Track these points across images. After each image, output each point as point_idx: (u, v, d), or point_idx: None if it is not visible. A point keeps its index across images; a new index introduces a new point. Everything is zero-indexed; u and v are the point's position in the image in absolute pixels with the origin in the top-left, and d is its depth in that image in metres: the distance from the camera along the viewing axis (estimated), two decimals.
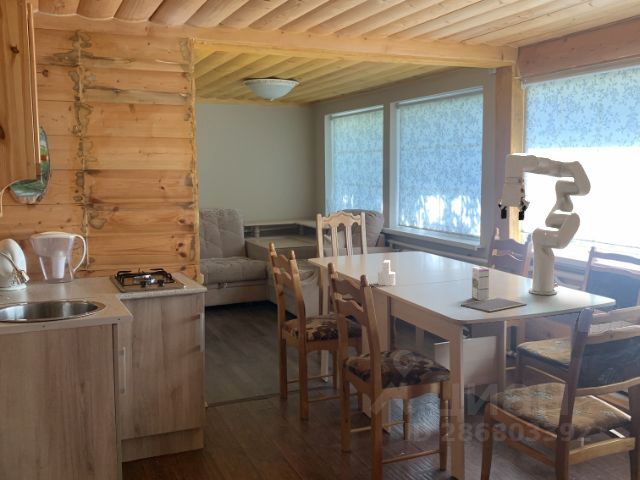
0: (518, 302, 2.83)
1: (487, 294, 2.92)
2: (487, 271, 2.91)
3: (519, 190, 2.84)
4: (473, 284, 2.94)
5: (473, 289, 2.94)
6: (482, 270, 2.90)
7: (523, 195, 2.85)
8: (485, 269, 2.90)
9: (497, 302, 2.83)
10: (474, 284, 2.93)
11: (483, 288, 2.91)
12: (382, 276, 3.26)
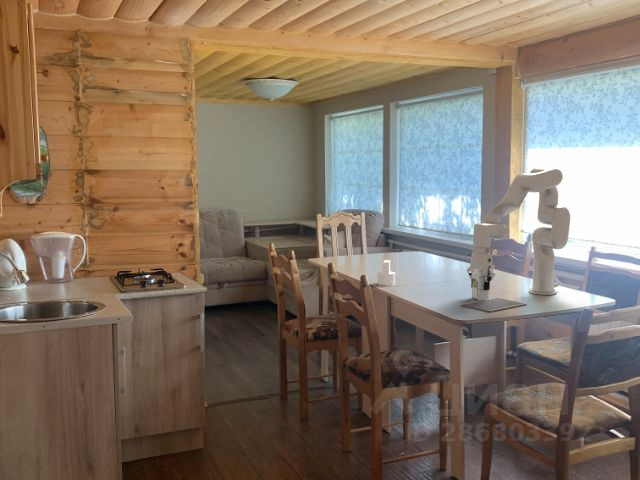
0: (518, 302, 2.83)
1: (487, 294, 2.92)
2: None
3: (486, 260, 2.88)
4: (473, 284, 2.94)
5: (473, 289, 2.94)
6: None
7: (490, 264, 2.89)
8: None
9: (497, 302, 2.83)
10: (474, 284, 2.93)
11: (483, 288, 2.91)
12: (382, 276, 3.26)
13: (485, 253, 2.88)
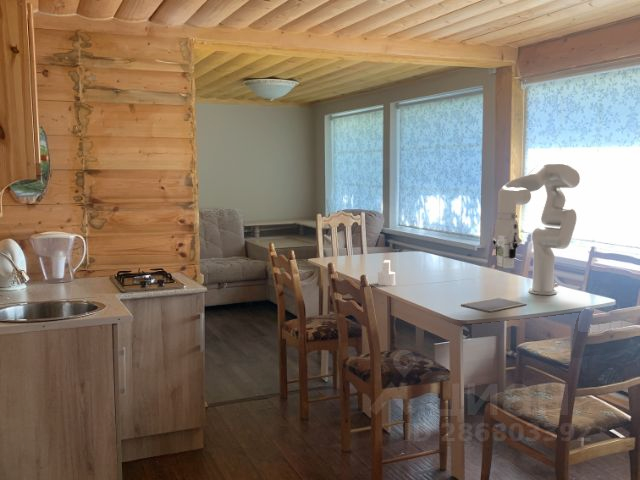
0: (518, 302, 2.83)
1: (513, 262, 2.82)
2: None
3: (512, 226, 2.77)
4: (498, 252, 2.84)
5: (498, 257, 2.84)
6: None
7: (516, 231, 2.78)
8: None
9: (497, 302, 2.83)
10: (499, 252, 2.82)
11: (508, 256, 2.80)
12: (382, 276, 3.26)
13: (511, 219, 2.78)
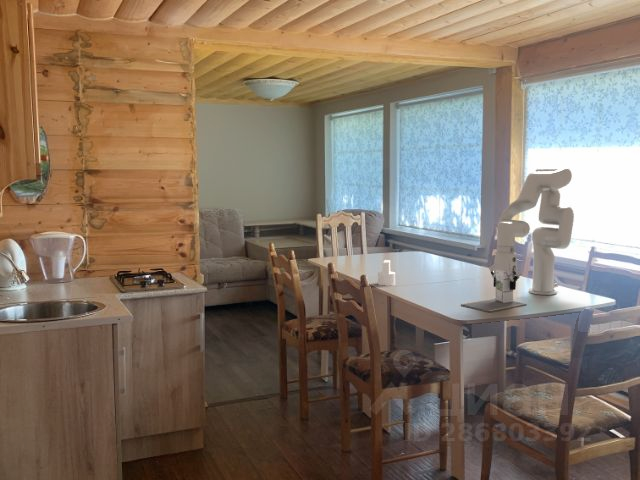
0: (518, 302, 2.83)
1: (512, 296, 2.84)
2: None
3: (511, 259, 2.79)
4: (497, 286, 2.85)
5: (497, 291, 2.86)
6: None
7: (515, 264, 2.80)
8: None
9: (497, 302, 2.83)
10: (498, 287, 2.84)
11: (508, 290, 2.82)
12: (382, 276, 3.26)
13: (510, 252, 2.79)
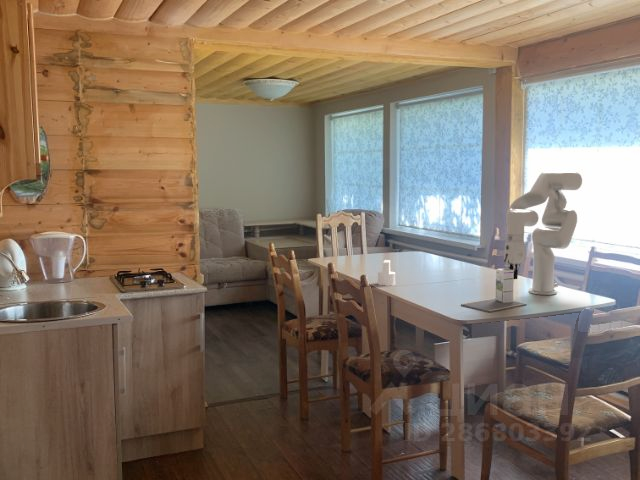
0: (518, 302, 2.83)
1: (512, 297, 2.84)
2: (512, 273, 2.82)
3: (505, 247, 2.85)
4: (497, 286, 2.85)
5: (497, 291, 2.86)
6: (507, 272, 2.81)
7: (508, 252, 2.83)
8: (510, 271, 2.82)
9: (497, 302, 2.83)
10: (499, 287, 2.84)
11: (508, 290, 2.82)
12: (382, 276, 3.26)
13: (507, 240, 2.85)
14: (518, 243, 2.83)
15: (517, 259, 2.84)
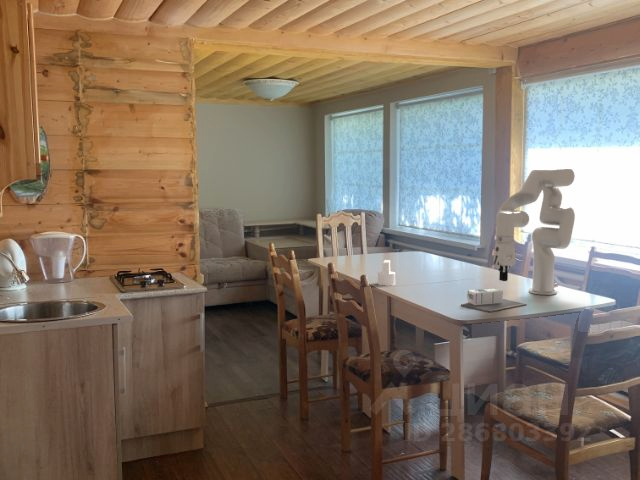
0: (518, 302, 2.83)
1: (498, 292, 2.81)
2: (477, 294, 2.78)
3: None
4: None
5: None
6: (475, 300, 2.78)
7: (498, 254, 2.79)
8: (474, 297, 2.77)
9: None
10: None
11: (492, 297, 2.80)
12: (382, 276, 3.26)
13: (497, 241, 2.81)
14: (508, 244, 2.80)
15: (507, 261, 2.80)
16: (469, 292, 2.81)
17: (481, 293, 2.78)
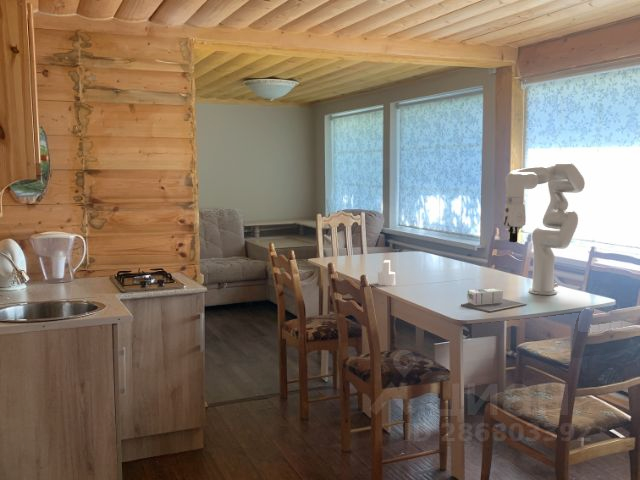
0: (518, 302, 2.83)
1: (498, 292, 2.81)
2: (477, 294, 2.78)
3: (504, 209, 2.82)
4: None
5: None
6: (475, 300, 2.78)
7: (508, 215, 2.80)
8: (474, 297, 2.77)
9: None
10: None
11: (492, 297, 2.80)
12: (382, 276, 3.26)
13: (507, 203, 2.82)
14: (518, 205, 2.81)
15: (517, 222, 2.81)
16: (469, 292, 2.81)
17: (481, 293, 2.78)
